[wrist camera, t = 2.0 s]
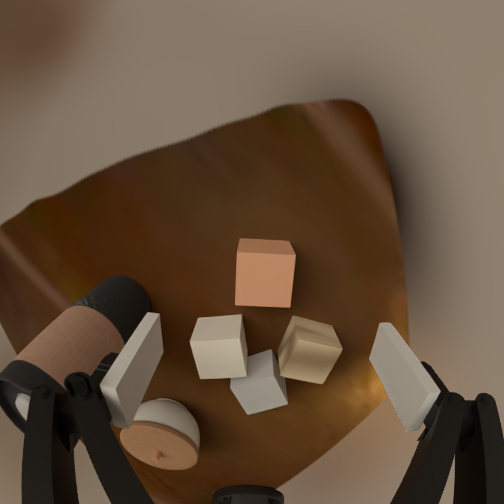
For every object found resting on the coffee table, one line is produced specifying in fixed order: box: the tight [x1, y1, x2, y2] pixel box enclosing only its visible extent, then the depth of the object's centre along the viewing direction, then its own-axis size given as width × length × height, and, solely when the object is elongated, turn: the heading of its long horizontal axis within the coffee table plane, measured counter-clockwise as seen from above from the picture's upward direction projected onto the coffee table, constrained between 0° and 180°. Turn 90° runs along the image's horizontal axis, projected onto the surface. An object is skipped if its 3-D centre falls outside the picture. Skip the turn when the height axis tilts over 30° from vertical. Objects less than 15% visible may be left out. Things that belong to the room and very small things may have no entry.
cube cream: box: [190, 314, 248, 379], centre depth 30 cm, size 5×5×5 cm
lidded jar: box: [120, 398, 200, 470], centre depth 32 cm, size 11×11×9 cm
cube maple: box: [278, 315, 343, 384], centre depth 30 cm, size 5×5×5 cm
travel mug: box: [0, 276, 151, 447], centre depth 22 cm, size 8×8×20 cm
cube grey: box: [230, 349, 288, 415], centre depth 32 cm, size 5×5×5 cm
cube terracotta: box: [235, 238, 296, 307], centre depth 28 cm, size 5×5×5 cm
